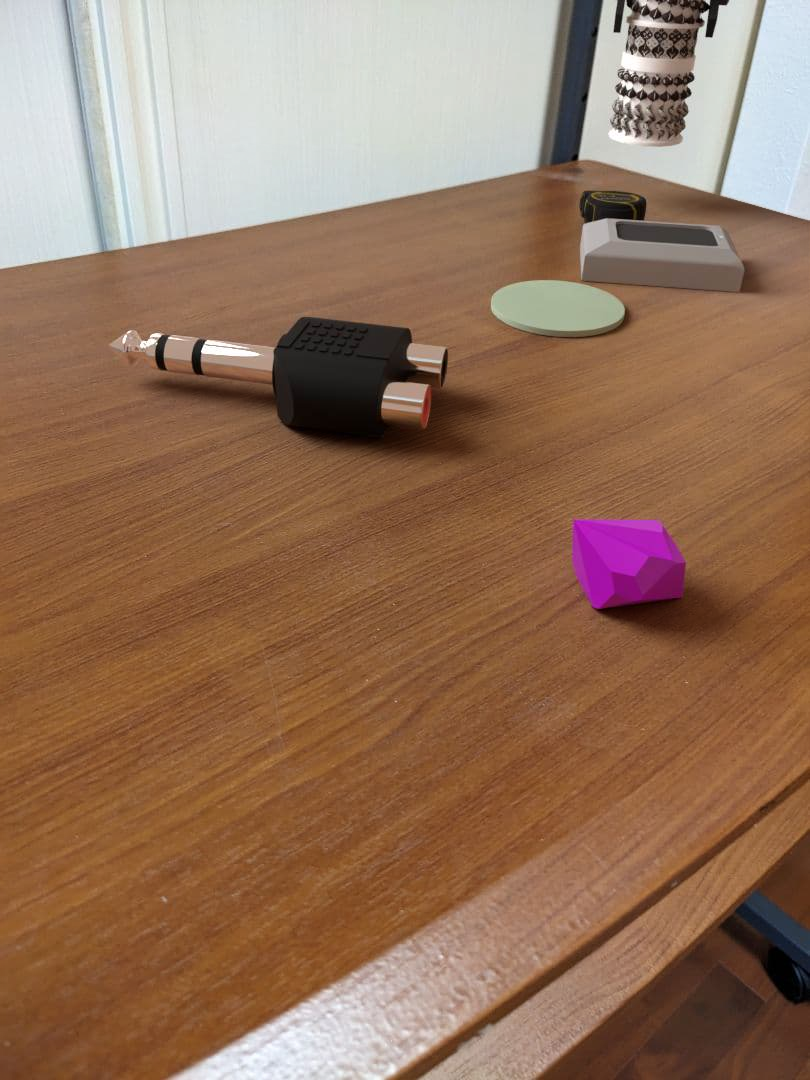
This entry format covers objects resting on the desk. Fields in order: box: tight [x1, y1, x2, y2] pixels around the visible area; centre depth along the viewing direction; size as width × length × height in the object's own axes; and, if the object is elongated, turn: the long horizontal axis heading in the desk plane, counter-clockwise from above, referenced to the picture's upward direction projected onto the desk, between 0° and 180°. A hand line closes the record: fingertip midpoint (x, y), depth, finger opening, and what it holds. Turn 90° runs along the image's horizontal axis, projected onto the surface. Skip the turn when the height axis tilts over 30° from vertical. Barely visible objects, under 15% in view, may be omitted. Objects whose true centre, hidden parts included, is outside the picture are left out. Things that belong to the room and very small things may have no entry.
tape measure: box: [578, 190, 647, 224], centre depth 102 cm, size 7×7×4 cm
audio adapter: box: [107, 316, 449, 438], centre depth 67 cm, size 11×5×25 cm
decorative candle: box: [608, 0, 710, 148], centre depth 100 cm, size 9×9×25 cm
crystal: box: [571, 518, 687, 610], centre depth 49 cm, size 5×5×5 cm
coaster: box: [490, 279, 626, 338], centre depth 83 cm, size 12×12×1 cm
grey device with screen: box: [579, 218, 746, 293], centre depth 92 cm, size 10×4×15 cm
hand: (664, 25), depth 98 cm, fingers closed on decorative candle, 9 cm apart
